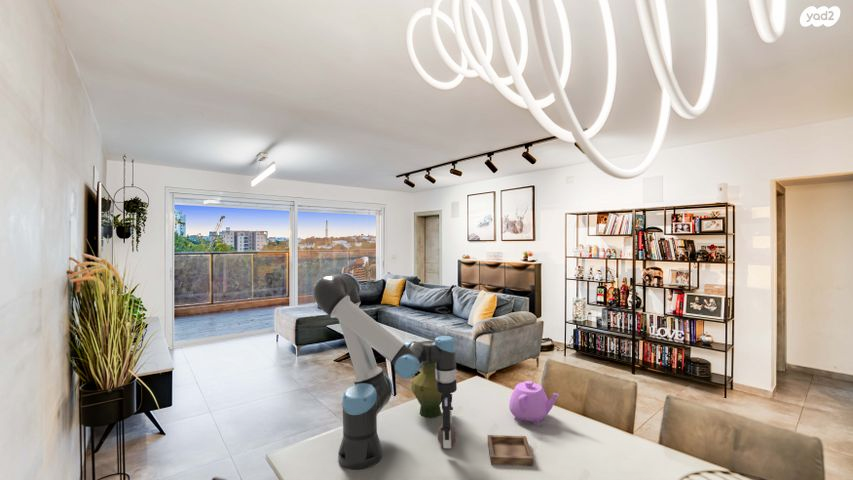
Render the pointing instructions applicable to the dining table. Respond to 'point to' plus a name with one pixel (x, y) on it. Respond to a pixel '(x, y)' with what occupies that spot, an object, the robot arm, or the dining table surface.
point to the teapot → (530, 402)
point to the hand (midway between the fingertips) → (447, 437)
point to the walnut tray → (509, 450)
